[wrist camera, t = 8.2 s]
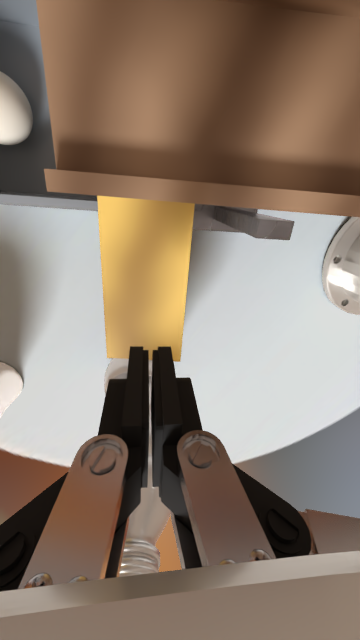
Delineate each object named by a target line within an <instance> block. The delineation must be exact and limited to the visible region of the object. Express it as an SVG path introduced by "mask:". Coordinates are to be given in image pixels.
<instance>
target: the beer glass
mask: <svg viewBox="0 0 360 640" xmlns="http://www.w3.org/2000/svg"><path fill="white" fill-rule="evenodd" d="M22 388H23V381H22V378H21V376H20V374H19V373H18V372H17V371H16V370H15V369H14V368H12V367H11V366H9V365H7V364H5V363H3V362H0V418H1V417H2V415H3V413H4V412H5V410H6V409H7V408H8V406H9V405H10V404H11V403H12V402H13V401H14V400H15V399H16V398H17V397H18V396H19V395H20V393H21V391H22Z"/></svg>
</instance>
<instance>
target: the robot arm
mask: <svg viewBox="0 0 360 640" xmlns="http://www.w3.org/2000/svg"><path fill="white" fill-rule="evenodd" d="M322 283H323V288H324V291H325V293H326V295H327V297H328V299H329V300H330V301H331V302H332V303H333V304H334V305H335V306H337V307H338V308H340V309H341V310H343V311H345V312H347V313H351V314H355V315H360V217H351V218H350V219H349V220H348V221H347V222H346V223H345V224H344V225H343V227H342V228H341V229H340V231H339V232H338V233H337V235H336V236H335V237H334V239H333V241H332V243H331V245H330V247H329V248H328V251H327V254H326V256H325V259H324V264H323V269H322ZM151 437H152V486H153V487H159V497H161V502H162V503H163V504H164V505H165V506H166V507H167V508H168V509H169V510H170V511H171V519H172V524H173V528H174V534H175V538H176V543H177V548H178V553H179V557H180V562H181V567H182V570H175V571H167V572H158V573H149V574H141V575H132V576H124V577H119V574H120V568H121V563H122V557H123V552H124V546H125V541H126V536H127V530H128V525H129V516H130V514H131V513H132V512H133V511H134V510H135V509H136V508H137V507H138V505H139V504H140V503H141V488H147V485H148V454H149V350H143V346H130V351H129V361H128V370H127V379H109V382H108V386H107V392H106V397H105V402H104V407H103V412H102V417H101V422H100V427H99V432H98V436H95V437H93V438H91V439H89V440H88V441H86V442H85V443H84V444H83V445H82V446H81V447H80V449H79V450H78V452H77V454H76V456H75V458H74V461H73V463H72V465H71V468H70V470H69V472H67V473H66V474H65V475H64V476H63V477H61V478H60V479H59V480H57V481H56V482H55V483H53V484H52V485H51V486H50V487H48V488H47V489H46V490H44V491H43V492H42V493H41V494H39V495H38V496H37V497H36V498H34V499H33V500H32V501H31V502H29V503H28V504H27V505H26V506H24V507H23V508H22V509H20V510H19V511H18V512H17V513H15V514H14V515H13V516H12V517H10V518H9V519H8V520H6V521H5V522H4V523H3V524H1V525H0V640H360V518H354V517H349V516H343V515H338V514H332V513H326V512H321V511H315V510H309V509H305V511H304V512H300V511H297V510H296V509H295V508H294V507H292V506H291V505H290V504H289V503H287V502H286V501H285V500H283V499H282V498H280V497H279V496H277V495H276V494H275V493H273V492H272V491H270V490H269V489H268V488H266V487H265V486H263V485H262V484H260V483H259V482H258V481H256V480H255V479H253V478H252V477H250V476H249V475H248V474H246V473H245V472H243V471H242V470H240V469H239V468H238V467H236V466H235V465H233V464H232V463H231V460H230V458H229V456H228V454H227V452H226V450H225V448H224V446H223V444H222V443H221V441H220V440H219V439H218V438H217V437H216V436H215V435H213V434H211V433H209V432H207V431H203V430H202V426H201V422H200V417H199V413H198V409H197V404H196V400H195V396H194V391H193V387H192V383H191V379H190V378H176V376H175V369H174V363H173V356H172V350H171V346H158V350H153V353H152V383H151Z"/></svg>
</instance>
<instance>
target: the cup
mask: <svg viewBox="0 0 360 640" xmlns="http://www.w3.org/2000/svg"><path fill="white" fill-rule="evenodd" d="M0 71H1V72H3V73H4V74H6V75H7V76H8V77H10V78H11V79H12V80H13V81H14V82H15V83H16V84H17V85H18V86H19V87H20V88H21V90H22V91H23V92H24V94H25V96H26V97H27V99H28V101H29V104H30V106H31V110H32V114H33V126H32V130H31V132H30V134H29V136H28V137H27V138H26V139H25V140H24V141H23V142H21V143H19V144H15V145H3V144H0V204H5V205H19V206H34V207H48V208H62V209H76V210H90V211H98V201H97V196H96V195H84V194H72V193H60V192H48V191H47V188H46V180H45V173H44V169H55V170H56V162H55V154H54V145H53V137H52V129H51V121H50V112H49V104H48V96H47V87H46V79H45V71H44V62H43V54H42V46H41V37H40V29H39V21H38V12H37V4H36V0H0Z"/></svg>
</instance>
